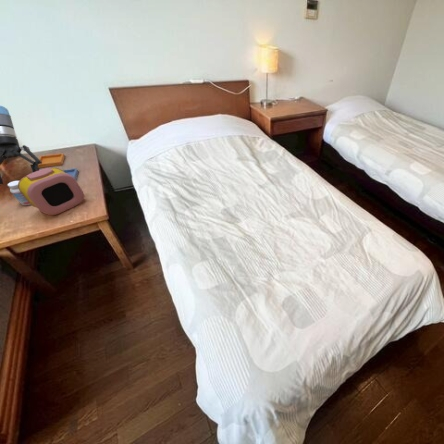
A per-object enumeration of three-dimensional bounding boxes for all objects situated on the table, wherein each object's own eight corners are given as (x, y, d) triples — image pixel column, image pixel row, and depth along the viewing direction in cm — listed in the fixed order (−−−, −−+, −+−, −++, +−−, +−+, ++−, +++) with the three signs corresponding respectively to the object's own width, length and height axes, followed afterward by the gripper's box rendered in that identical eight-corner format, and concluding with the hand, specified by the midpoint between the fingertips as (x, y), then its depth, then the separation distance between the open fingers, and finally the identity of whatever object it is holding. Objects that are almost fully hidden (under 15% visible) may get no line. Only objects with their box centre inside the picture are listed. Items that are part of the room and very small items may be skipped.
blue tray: (50, 185, 134) (48, 182, 133) (54, 174, 141) (52, 171, 140) (76, 181, 139) (74, 178, 137) (78, 171, 146) (76, 168, 144)
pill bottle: (27, 207, 121) (11, 188, 113) (18, 203, 122) (1, 185, 114) (40, 200, 125) (25, 181, 117) (31, 197, 126) (16, 178, 119)
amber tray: (38, 168, 145) (36, 165, 143) (42, 159, 152) (40, 155, 151) (62, 165, 149) (60, 161, 148) (65, 156, 156) (63, 153, 155)
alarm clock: (48, 220, 116) (20, 186, 102) (36, 211, 119) (7, 177, 106) (89, 200, 128) (69, 167, 115) (77, 193, 131) (56, 160, 118)
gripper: (43, 137, 127) (55, 177, 128) (-24, 144, 118) (-10, 187, 118) (34, 132, 120) (46, 173, 121) (-38, 138, 111) (-23, 184, 111)
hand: (18, 180), depth 120 cm, fingers open, 13 cm apart
